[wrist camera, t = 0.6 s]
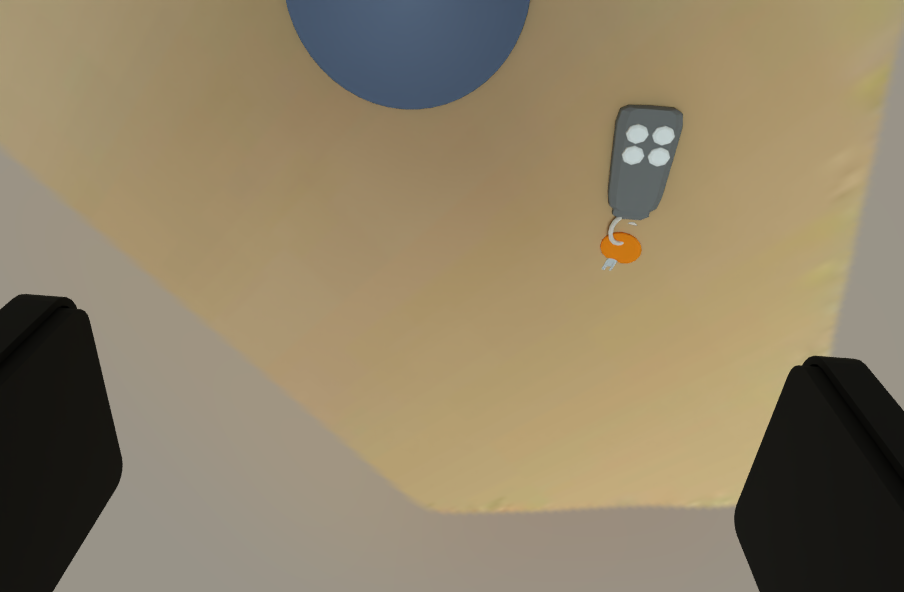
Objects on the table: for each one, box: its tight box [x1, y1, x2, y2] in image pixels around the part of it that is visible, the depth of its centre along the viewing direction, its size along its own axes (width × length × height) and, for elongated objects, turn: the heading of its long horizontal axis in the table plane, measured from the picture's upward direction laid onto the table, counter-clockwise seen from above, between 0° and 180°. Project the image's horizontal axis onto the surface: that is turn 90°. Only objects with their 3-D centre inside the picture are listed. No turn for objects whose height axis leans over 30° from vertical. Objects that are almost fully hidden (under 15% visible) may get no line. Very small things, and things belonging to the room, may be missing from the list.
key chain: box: [600, 105, 683, 270], centre depth 39 cm, size 13×4×2 cm, turn 177°
